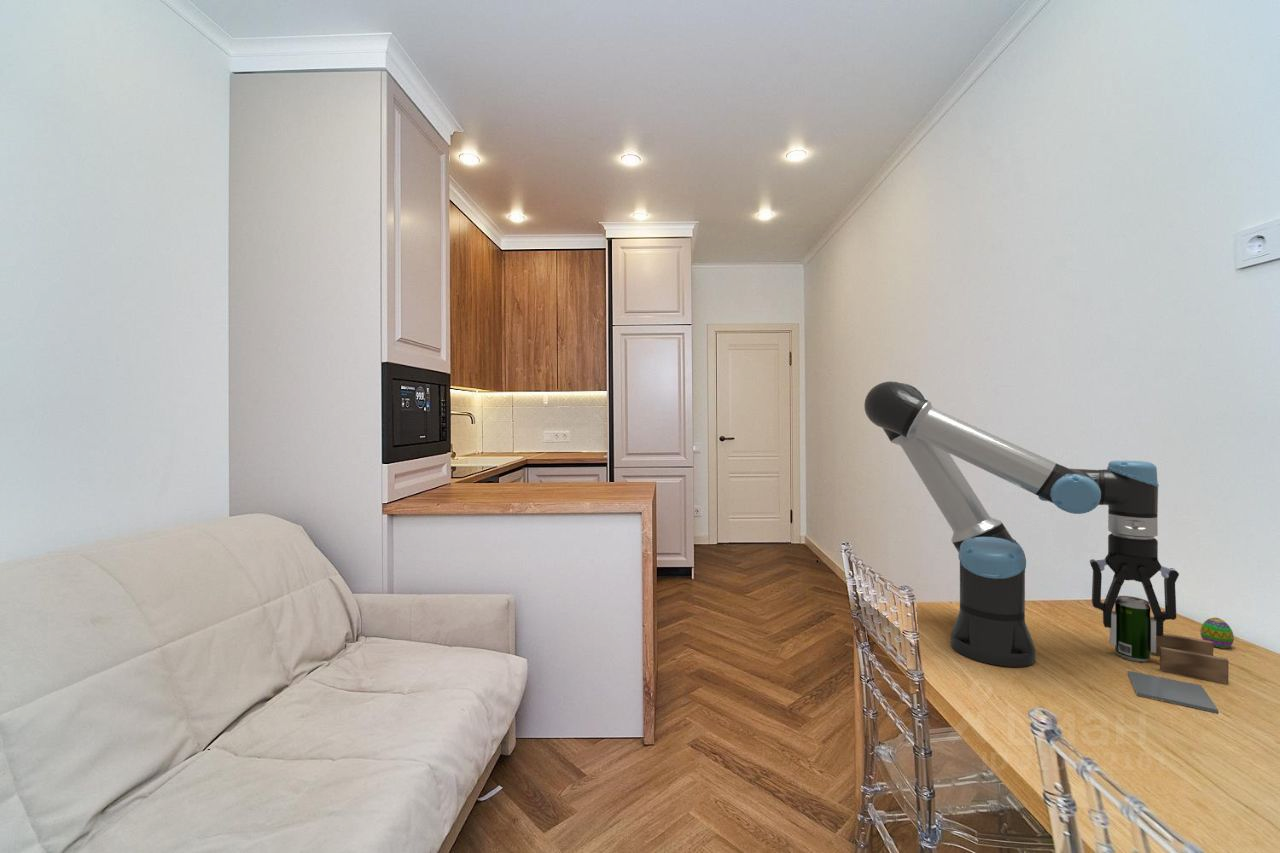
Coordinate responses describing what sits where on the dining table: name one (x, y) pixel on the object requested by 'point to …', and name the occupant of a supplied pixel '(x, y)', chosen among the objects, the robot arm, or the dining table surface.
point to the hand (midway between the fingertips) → (1132, 646)
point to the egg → (1217, 633)
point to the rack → (1191, 658)
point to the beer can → (1132, 628)
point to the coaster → (1172, 691)
